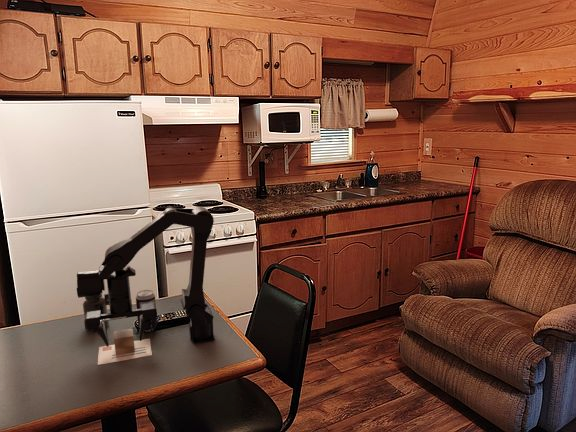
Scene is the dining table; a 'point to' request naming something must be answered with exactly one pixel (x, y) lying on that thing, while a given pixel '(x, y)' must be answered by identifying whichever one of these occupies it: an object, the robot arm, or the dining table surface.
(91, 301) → the supplement bottle
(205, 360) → the dining table surface
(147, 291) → the beverage can
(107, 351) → the letter
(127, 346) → the walnut block
